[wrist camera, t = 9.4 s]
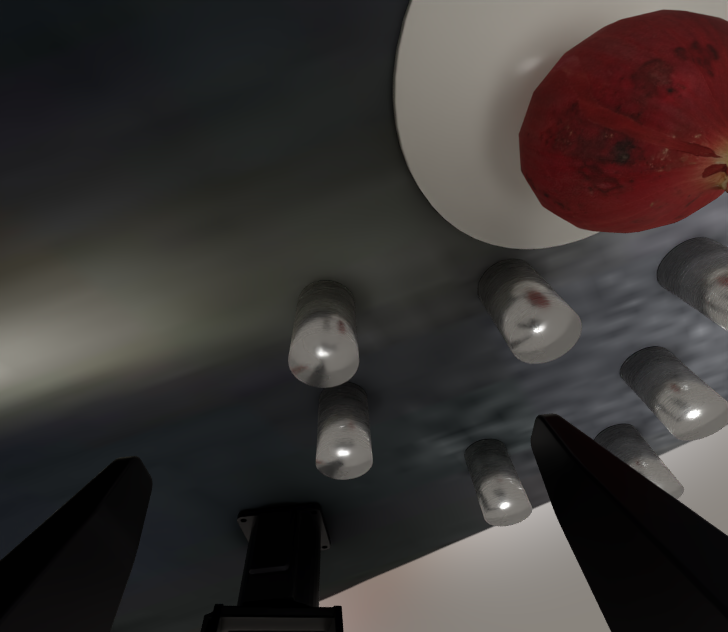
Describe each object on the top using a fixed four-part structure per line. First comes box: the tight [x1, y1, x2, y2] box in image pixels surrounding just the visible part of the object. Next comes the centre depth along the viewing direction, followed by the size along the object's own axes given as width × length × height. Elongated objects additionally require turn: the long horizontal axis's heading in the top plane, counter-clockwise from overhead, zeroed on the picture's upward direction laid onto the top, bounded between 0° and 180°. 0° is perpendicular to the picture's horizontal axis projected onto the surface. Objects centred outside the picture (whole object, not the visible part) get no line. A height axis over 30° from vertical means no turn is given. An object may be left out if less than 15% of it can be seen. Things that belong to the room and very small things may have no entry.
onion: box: [519, 9, 728, 233], centre depth 11 cm, size 6×6×8 cm
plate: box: [393, 0, 728, 249], centre depth 14 cm, size 13×13×1 cm
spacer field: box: [288, 238, 728, 526], centre depth 22 cm, size 17×22×4 cm
